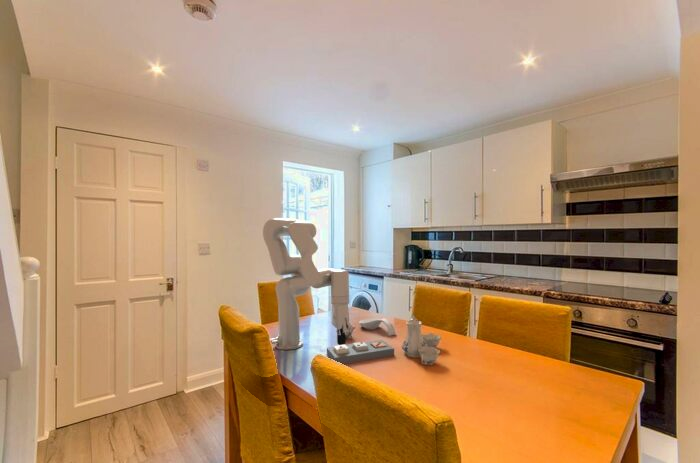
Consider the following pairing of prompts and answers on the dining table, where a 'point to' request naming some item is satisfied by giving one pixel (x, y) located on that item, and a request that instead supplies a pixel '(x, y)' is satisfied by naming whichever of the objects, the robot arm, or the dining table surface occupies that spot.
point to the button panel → (361, 353)
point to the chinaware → (420, 343)
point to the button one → (341, 349)
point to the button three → (378, 345)
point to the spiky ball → (349, 330)
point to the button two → (360, 346)
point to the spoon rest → (377, 324)
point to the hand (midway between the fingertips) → (341, 343)
